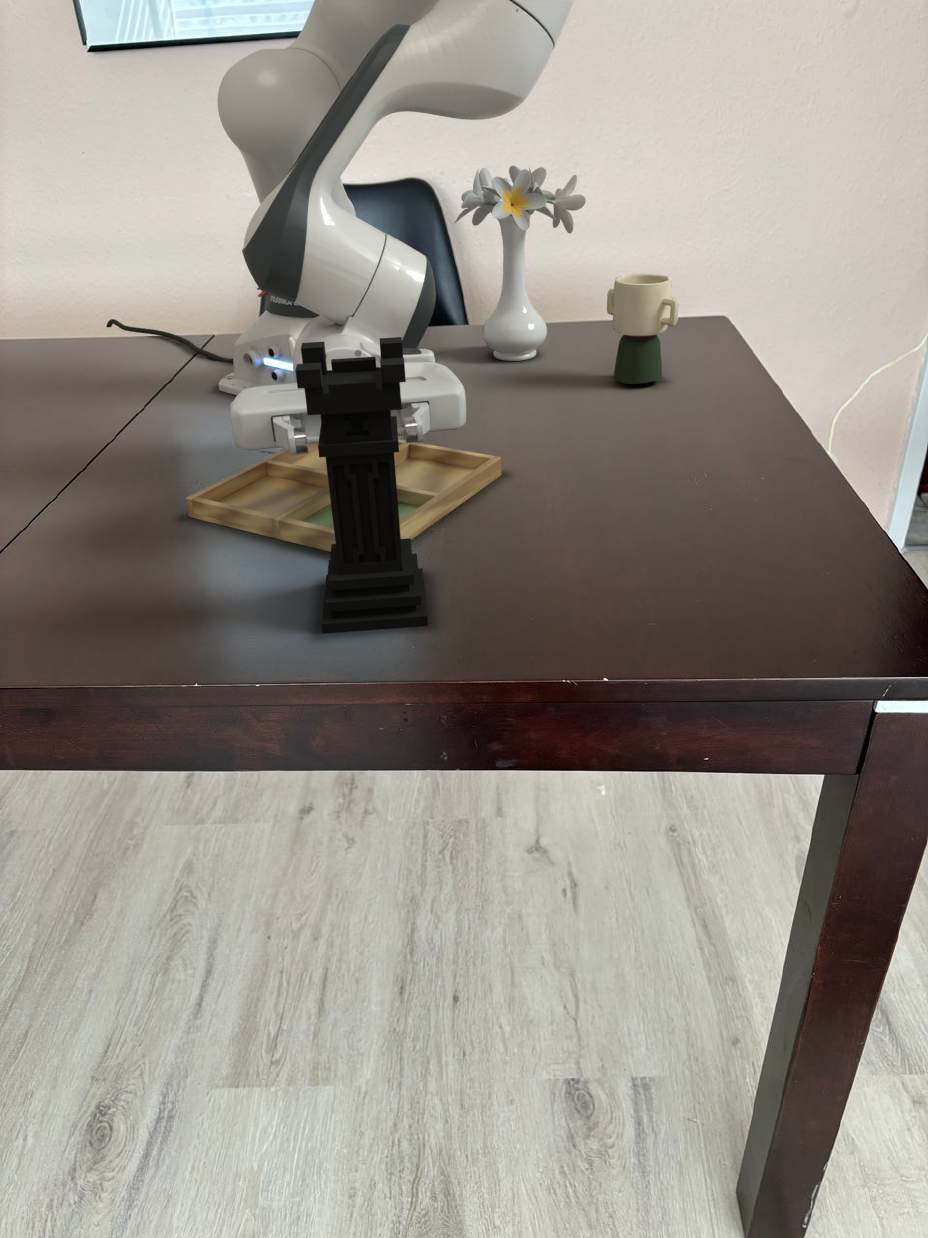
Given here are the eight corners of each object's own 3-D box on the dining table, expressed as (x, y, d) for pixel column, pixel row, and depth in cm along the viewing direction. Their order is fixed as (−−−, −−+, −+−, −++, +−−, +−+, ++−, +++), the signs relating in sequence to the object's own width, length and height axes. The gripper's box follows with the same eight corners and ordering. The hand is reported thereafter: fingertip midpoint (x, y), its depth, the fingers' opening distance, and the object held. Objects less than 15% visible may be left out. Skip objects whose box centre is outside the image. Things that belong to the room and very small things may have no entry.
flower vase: (593, 349, 139) (599, 160, 126) (498, 376, 129) (495, 173, 116) (531, 334, 148) (531, 156, 135) (439, 358, 138) (429, 168, 125)
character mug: (688, 383, 123) (697, 279, 116) (654, 396, 119) (661, 288, 112) (621, 368, 130) (626, 269, 123) (587, 380, 126) (590, 278, 119)
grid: (188, 517, 92) (184, 498, 91) (329, 443, 109) (327, 426, 108) (378, 564, 82) (376, 543, 81) (501, 475, 98) (501, 456, 97)
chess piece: (327, 583, 79) (296, 341, 69) (422, 576, 80) (406, 335, 70) (323, 633, 72) (288, 372, 62) (427, 625, 73) (410, 365, 63)
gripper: (224, 367, 86) (219, 414, 74) (447, 347, 89) (477, 389, 77) (235, 434, 89) (232, 489, 77) (451, 412, 92) (479, 463, 80)
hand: (356, 439), depth 77 cm, fingers open, 8 cm apart
